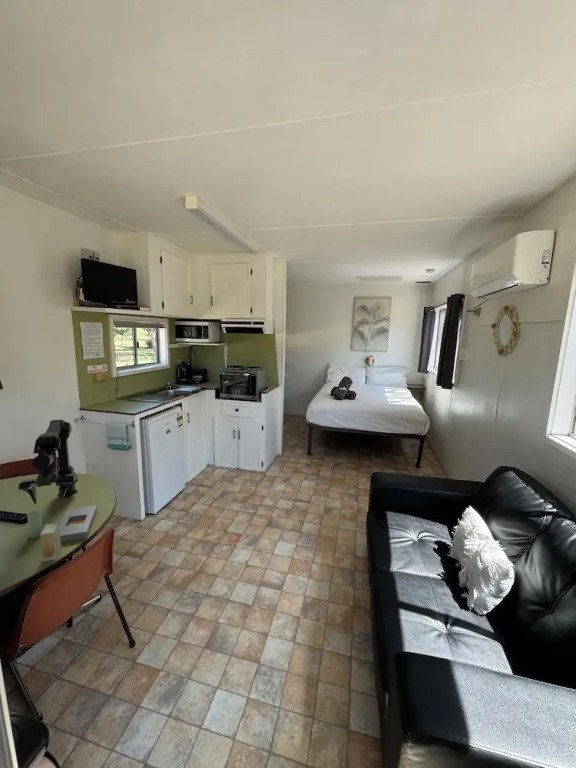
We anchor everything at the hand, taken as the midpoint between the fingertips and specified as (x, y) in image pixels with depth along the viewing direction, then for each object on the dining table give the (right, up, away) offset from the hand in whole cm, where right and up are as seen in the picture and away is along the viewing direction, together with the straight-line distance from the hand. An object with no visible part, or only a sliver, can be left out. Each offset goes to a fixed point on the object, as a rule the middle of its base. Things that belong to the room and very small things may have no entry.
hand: (49, 501), depth 129 cm
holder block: (+6, -14, +9) cm, 18 cm away
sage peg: (-7, -15, +2) cm, 16 cm away
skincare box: (+8, -18, -9) cm, 22 cm away
